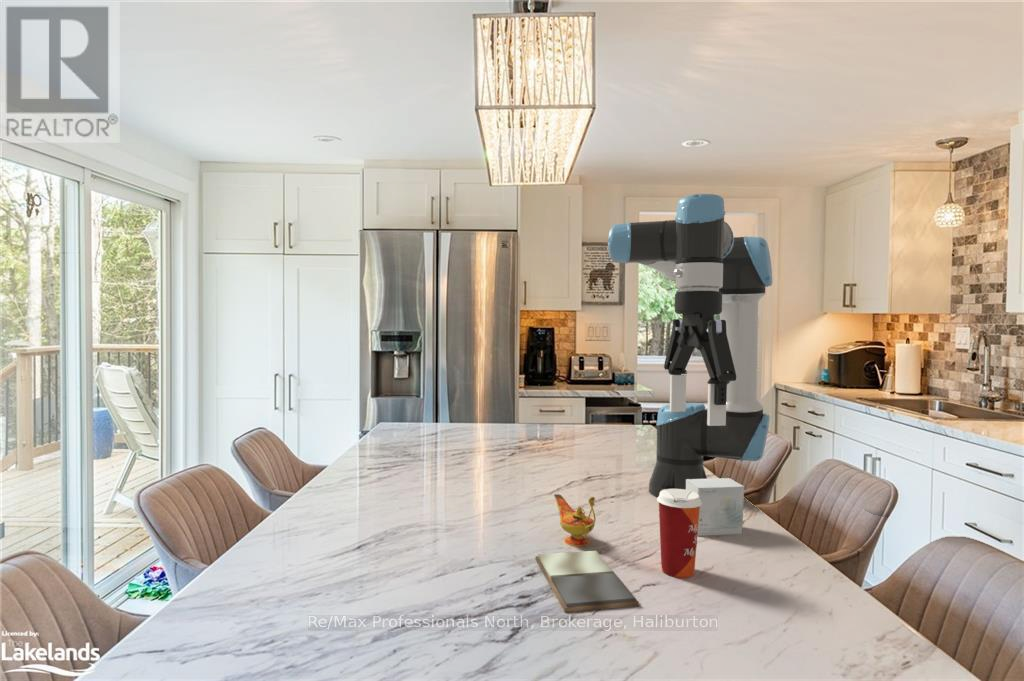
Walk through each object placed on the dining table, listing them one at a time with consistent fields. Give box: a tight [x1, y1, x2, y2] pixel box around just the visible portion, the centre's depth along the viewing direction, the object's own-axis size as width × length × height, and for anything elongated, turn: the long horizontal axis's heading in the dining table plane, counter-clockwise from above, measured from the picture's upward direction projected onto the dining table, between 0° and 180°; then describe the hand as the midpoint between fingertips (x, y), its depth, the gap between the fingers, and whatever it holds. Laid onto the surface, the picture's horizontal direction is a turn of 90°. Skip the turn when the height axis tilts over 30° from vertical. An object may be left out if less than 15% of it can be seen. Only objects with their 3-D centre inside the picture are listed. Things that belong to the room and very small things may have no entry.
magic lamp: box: [553, 493, 596, 547], centre depth 121 cm, size 7×18×11 cm, turn 20°
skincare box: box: [686, 477, 745, 537], centre depth 127 cm, size 10×6×10 cm, turn 99°
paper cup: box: [656, 489, 702, 579], centre depth 106 cm, size 8×8×14 cm
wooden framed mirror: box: [535, 550, 640, 613], centre depth 102 cm, size 12×20×1 cm, turn 11°
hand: (695, 418), depth 99 cm, fingers open, 13 cm apart
